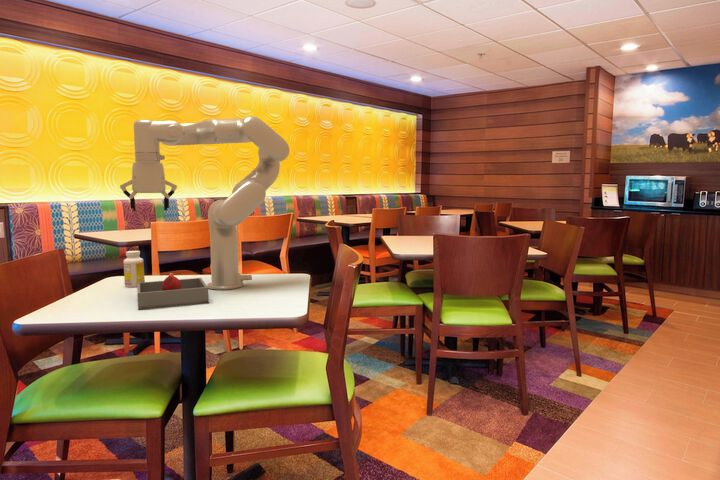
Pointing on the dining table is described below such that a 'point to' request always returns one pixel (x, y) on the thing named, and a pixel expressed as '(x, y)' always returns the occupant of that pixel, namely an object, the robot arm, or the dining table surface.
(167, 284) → the onion
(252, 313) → the dining table surface
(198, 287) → the bin
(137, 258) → the supplement bottle
